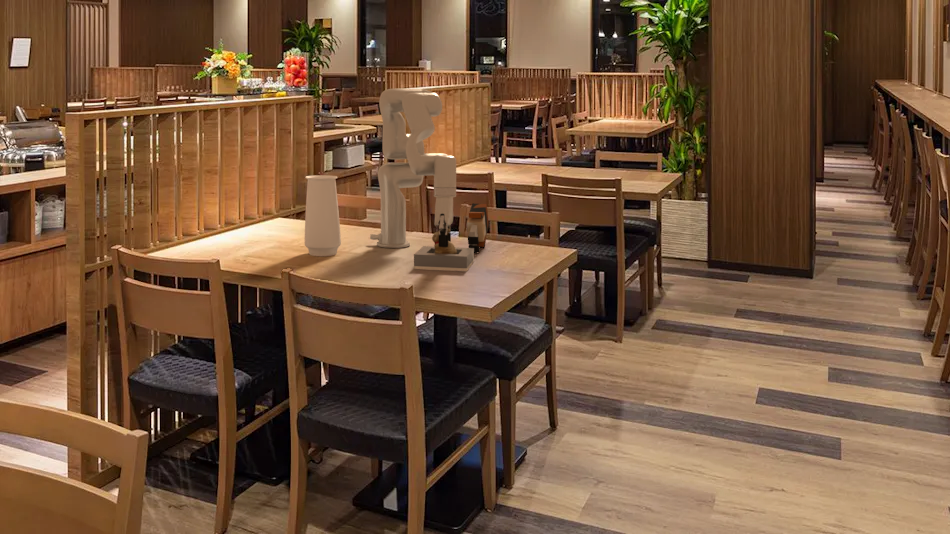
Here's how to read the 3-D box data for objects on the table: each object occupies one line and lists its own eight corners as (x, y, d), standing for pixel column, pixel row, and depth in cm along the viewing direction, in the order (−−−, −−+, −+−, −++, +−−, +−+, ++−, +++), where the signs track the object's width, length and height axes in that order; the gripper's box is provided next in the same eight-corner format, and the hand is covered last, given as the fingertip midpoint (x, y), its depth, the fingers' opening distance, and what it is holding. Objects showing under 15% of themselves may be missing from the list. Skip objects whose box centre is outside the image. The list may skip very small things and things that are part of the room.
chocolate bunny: (441, 250, 310) (441, 222, 308) (458, 253, 306) (458, 224, 304) (430, 252, 306) (430, 223, 304) (448, 255, 301) (448, 226, 299)
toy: (476, 228, 324) (486, 198, 340) (461, 227, 325) (471, 198, 341) (480, 263, 334) (489, 232, 349) (465, 262, 335) (474, 232, 350)
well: (413, 269, 300) (413, 254, 299) (423, 260, 316) (423, 246, 315) (466, 271, 298) (467, 256, 297) (473, 262, 313) (473, 248, 312)
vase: (301, 251, 328) (299, 175, 323) (336, 249, 333) (334, 174, 328) (309, 258, 317) (307, 179, 311) (345, 255, 322) (343, 178, 316)
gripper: (438, 189, 310) (438, 241, 314) (429, 194, 294) (429, 249, 298) (459, 189, 309) (459, 241, 313) (451, 195, 293) (451, 250, 297)
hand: (444, 245), depth 305 cm, fingers closed on chocolate bunny, 4 cm apart
